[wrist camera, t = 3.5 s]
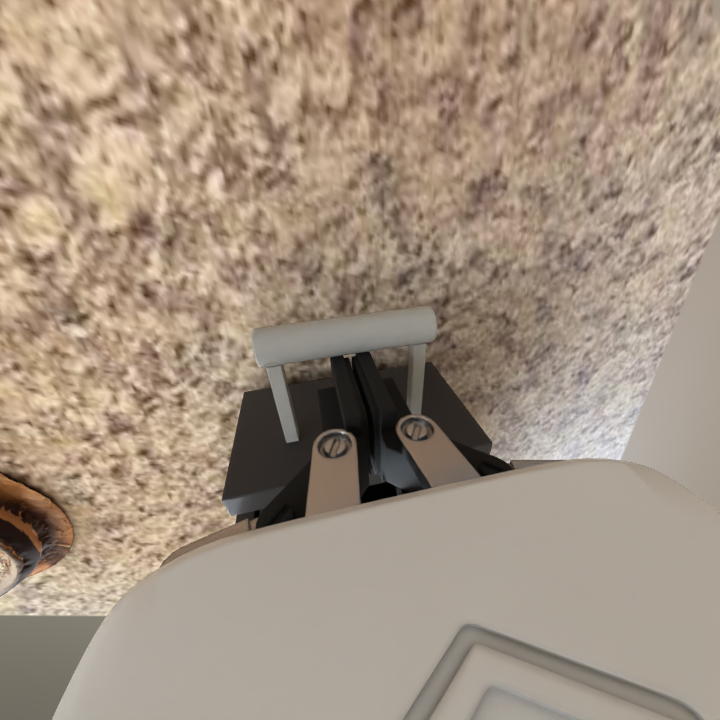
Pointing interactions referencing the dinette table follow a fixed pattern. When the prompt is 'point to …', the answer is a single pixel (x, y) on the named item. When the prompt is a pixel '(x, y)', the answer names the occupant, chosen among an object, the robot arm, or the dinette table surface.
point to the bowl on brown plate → (29, 533)
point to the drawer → (301, 405)
